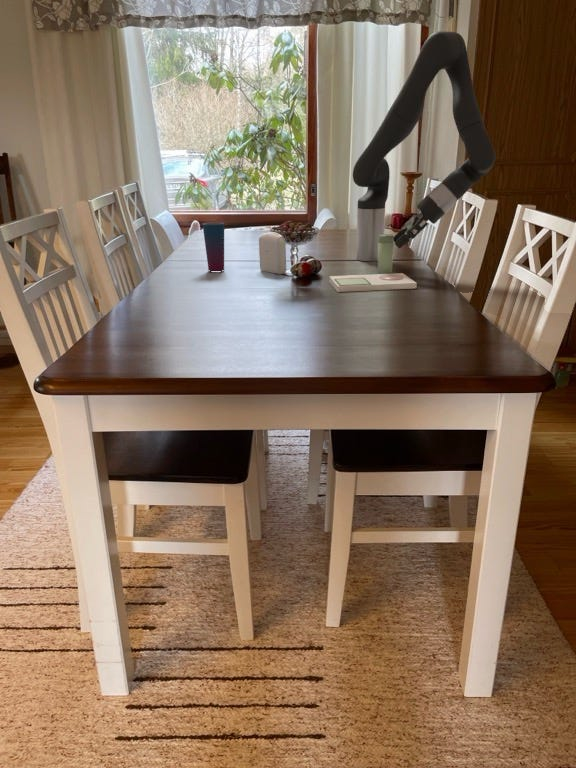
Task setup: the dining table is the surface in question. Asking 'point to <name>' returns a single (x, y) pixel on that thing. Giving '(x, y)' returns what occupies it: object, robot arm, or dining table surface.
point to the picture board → (372, 282)
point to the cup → (214, 245)
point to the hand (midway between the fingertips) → (395, 243)
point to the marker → (385, 254)
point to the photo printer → (272, 252)
